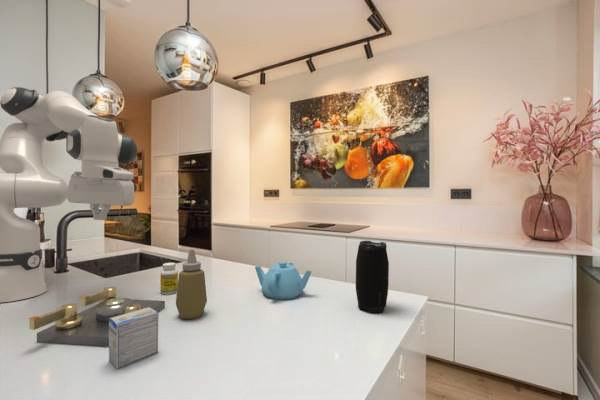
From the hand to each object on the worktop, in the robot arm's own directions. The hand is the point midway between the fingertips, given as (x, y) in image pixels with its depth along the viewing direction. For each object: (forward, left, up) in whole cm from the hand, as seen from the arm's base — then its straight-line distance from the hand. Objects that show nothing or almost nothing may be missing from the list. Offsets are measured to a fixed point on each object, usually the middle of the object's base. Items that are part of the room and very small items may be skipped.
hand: (100, 219), depth 86 cm
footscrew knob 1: (+6, -19, -23) cm, 31 cm away
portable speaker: (+79, +8, -26) cm, 84 cm away
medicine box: (+27, -24, -26) cm, 44 cm away
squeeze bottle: (+29, -3, -26) cm, 39 cm away
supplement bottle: (+13, +14, -26) cm, 32 cm away
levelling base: (+11, -10, -25) cm, 29 cm away
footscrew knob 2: (+6, -6, -23) cm, 25 cm away
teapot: (+51, +18, -26) cm, 60 cm away
